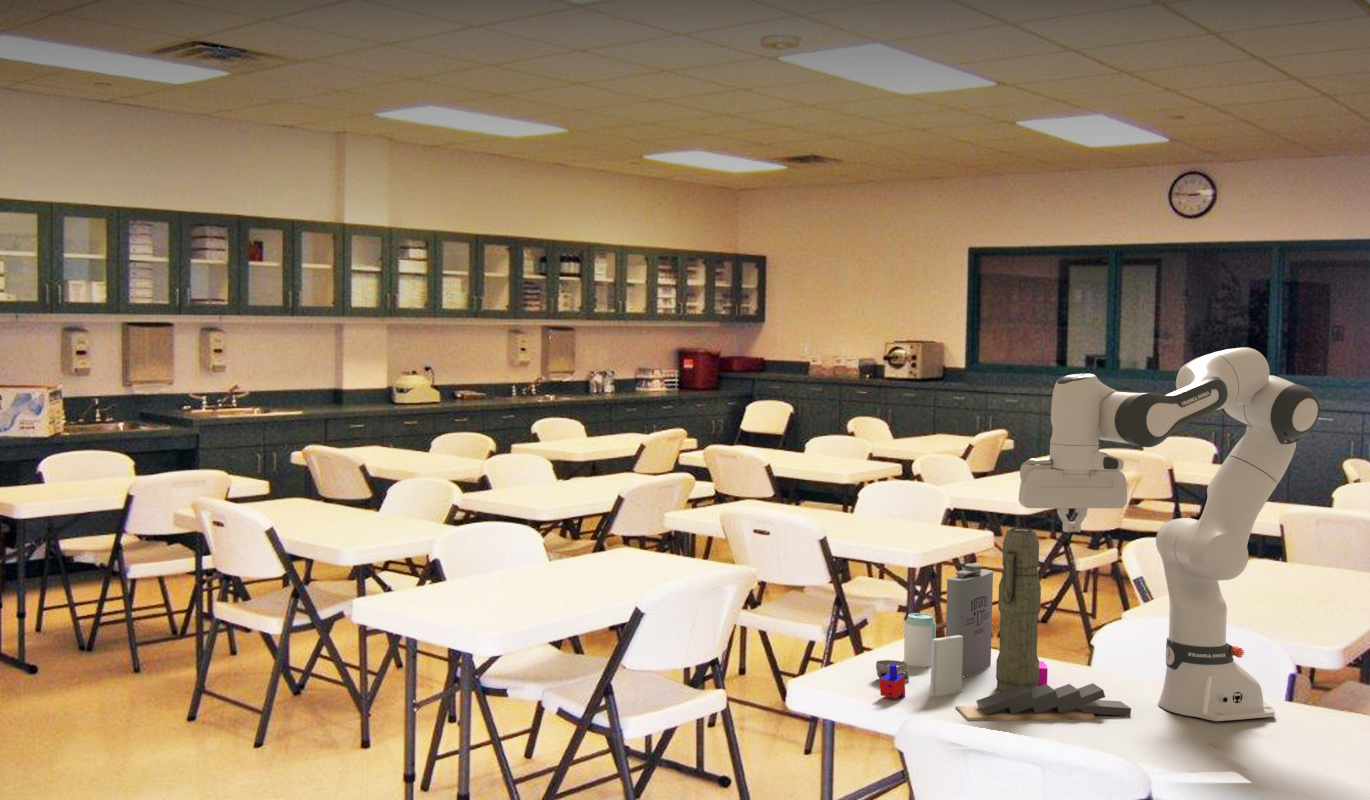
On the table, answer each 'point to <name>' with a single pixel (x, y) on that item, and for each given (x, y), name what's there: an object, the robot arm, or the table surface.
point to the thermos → (1019, 611)
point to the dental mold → (884, 668)
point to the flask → (971, 615)
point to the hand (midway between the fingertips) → (1071, 531)
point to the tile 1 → (1004, 699)
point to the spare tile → (1064, 696)
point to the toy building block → (892, 683)
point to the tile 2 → (1035, 699)
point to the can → (919, 639)
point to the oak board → (1020, 714)
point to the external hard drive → (946, 665)
